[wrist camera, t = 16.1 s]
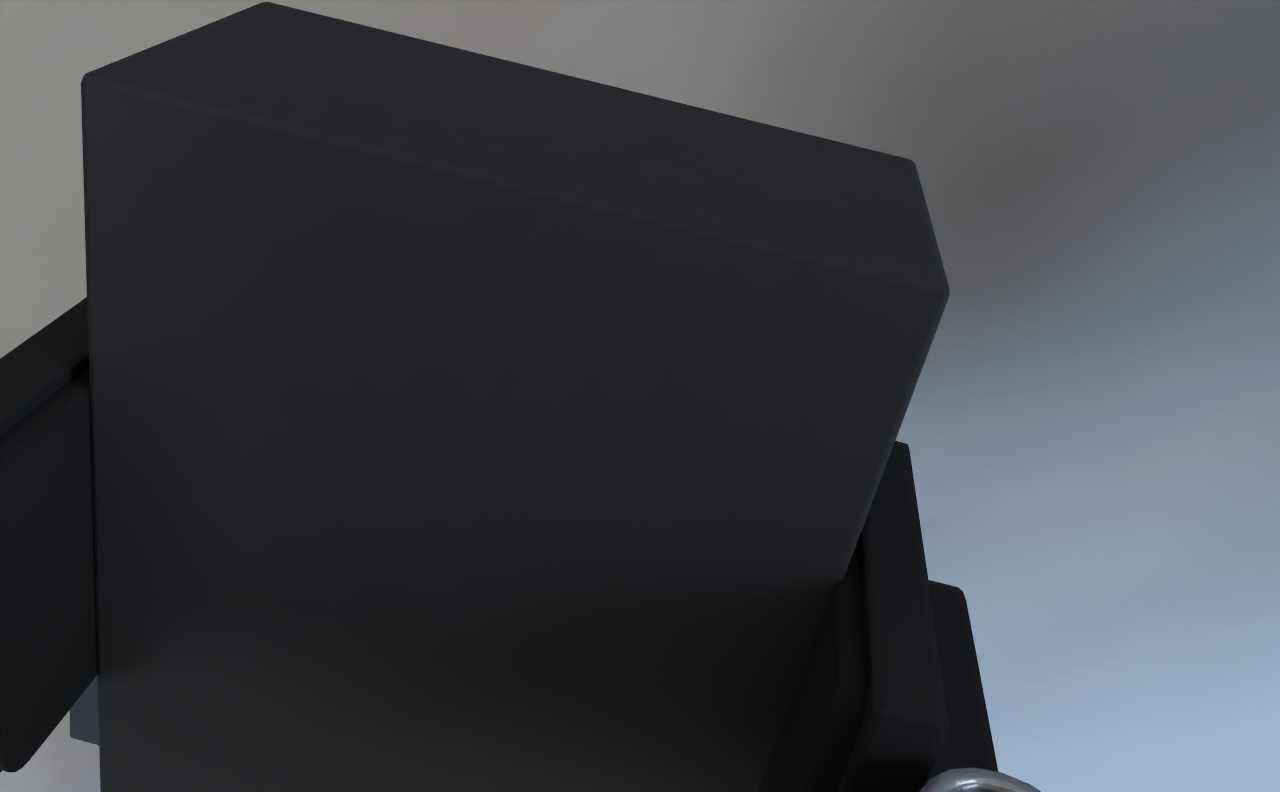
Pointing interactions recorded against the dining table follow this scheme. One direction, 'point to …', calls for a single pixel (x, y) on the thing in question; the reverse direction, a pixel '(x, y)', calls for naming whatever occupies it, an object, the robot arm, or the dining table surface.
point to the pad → (471, 414)
